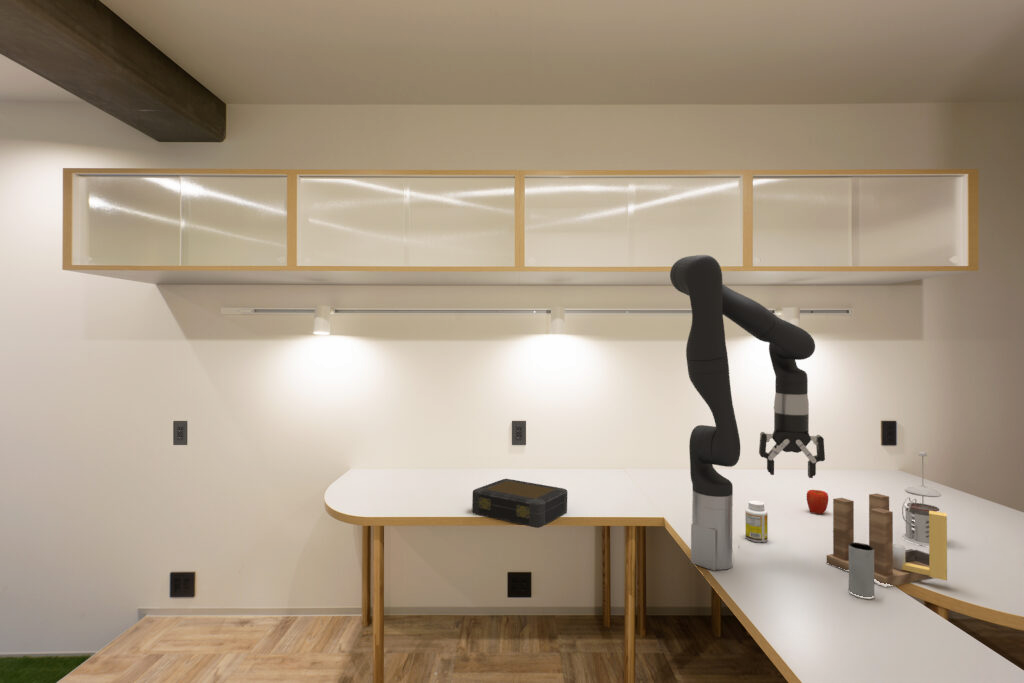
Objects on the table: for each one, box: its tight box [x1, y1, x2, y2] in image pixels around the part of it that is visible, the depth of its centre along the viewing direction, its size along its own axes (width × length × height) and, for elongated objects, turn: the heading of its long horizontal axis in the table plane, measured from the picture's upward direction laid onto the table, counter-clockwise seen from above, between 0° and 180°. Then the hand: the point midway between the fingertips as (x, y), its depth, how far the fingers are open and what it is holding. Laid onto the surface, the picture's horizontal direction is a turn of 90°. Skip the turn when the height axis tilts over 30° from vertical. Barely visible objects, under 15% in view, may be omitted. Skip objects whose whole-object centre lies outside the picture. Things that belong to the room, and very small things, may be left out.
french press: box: [901, 451, 942, 547], centre depth 143 cm, size 10×12×25 cm
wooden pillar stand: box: [826, 493, 932, 587], centre depth 123 cm, size 18×14×16 cm
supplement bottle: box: [744, 500, 769, 543], centre depth 142 cm, size 6×6×10 cm
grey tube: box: [848, 541, 875, 597], centre depth 110 cm, size 4×4×10 cm
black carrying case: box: [471, 478, 568, 529], centre depth 164 cm, size 25×20×8 cm
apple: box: [806, 489, 829, 515], centre depth 168 cm, size 6×6×8 cm
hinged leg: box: [893, 511, 948, 581], centre depth 117 cm, size 10×3×14 cm, turn 51°
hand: (790, 475), depth 128 cm, fingers open, 8 cm apart
